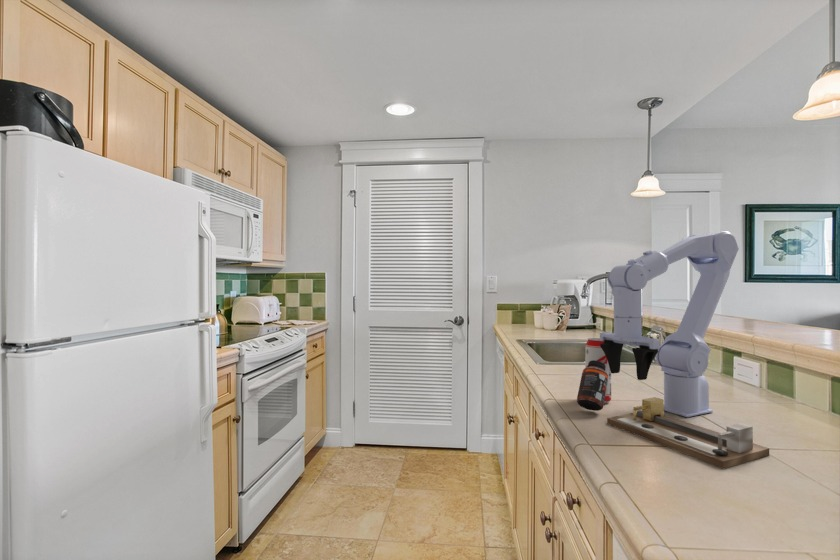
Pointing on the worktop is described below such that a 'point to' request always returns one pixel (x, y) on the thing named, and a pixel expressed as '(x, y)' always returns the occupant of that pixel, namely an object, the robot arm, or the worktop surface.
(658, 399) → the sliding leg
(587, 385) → the supplement bottle
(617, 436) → the worktop surface
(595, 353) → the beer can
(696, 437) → the board
